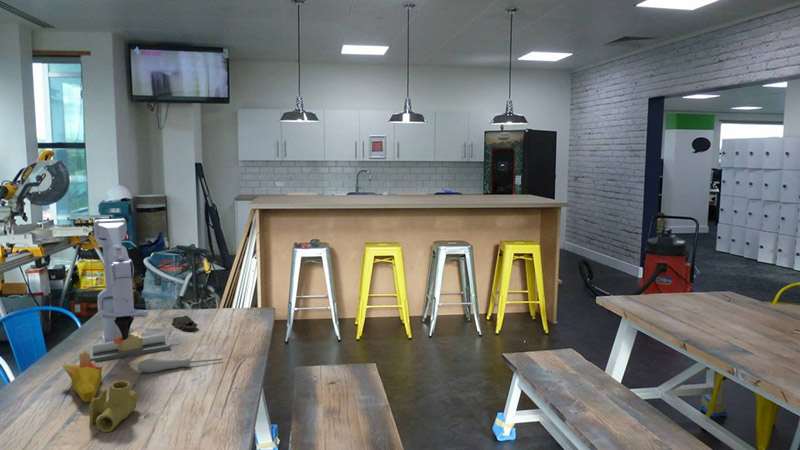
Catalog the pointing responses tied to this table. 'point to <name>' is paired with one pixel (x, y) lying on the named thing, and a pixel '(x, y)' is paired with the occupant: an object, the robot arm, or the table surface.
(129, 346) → the valve stand
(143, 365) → the screwdriver
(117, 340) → the valve lever
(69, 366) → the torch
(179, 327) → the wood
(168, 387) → the table surface
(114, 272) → the robot arm
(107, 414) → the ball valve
